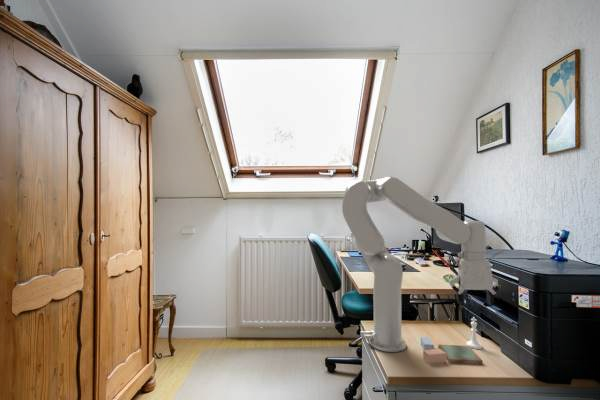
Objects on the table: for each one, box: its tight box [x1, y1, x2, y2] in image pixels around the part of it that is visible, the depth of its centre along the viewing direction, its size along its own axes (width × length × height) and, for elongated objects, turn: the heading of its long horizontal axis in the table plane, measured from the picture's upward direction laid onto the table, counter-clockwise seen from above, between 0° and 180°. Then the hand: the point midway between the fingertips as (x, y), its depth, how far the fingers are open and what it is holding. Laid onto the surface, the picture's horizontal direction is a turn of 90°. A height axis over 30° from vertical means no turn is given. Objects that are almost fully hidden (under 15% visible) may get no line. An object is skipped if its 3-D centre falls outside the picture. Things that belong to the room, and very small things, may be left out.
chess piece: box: [465, 316, 483, 350], centre depth 109 cm, size 5×5×10 cm
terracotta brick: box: [422, 348, 447, 365], centre depth 99 cm, size 6×3×3 cm, turn 100°
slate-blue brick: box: [420, 336, 435, 350], centre depth 107 cm, size 6×3×3 cm, turn 170°
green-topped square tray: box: [437, 344, 483, 365], centre depth 102 cm, size 10×10×1 cm
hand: (475, 304), depth 110 cm, fingers open, 9 cm apart
